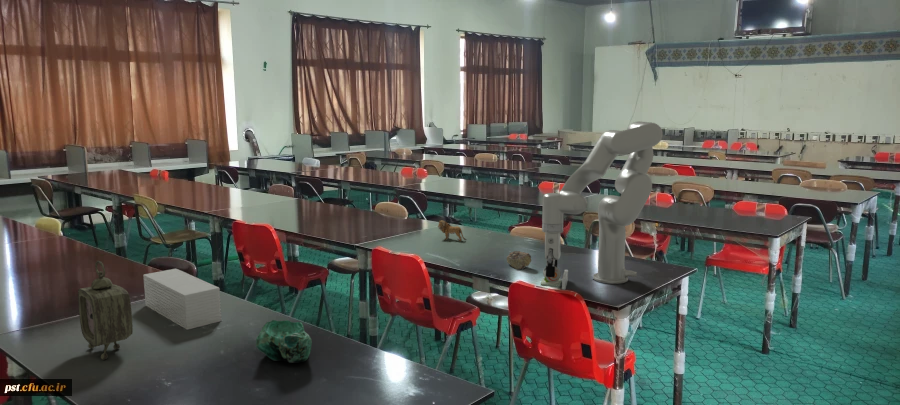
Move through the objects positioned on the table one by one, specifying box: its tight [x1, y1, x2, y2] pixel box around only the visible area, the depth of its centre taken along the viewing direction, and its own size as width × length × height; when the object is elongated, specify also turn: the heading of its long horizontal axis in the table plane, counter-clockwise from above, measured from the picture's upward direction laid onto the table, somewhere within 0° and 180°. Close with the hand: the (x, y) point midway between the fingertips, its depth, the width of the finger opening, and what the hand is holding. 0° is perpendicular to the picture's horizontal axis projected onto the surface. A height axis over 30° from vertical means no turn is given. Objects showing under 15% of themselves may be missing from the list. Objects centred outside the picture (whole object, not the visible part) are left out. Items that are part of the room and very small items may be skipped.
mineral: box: [255, 319, 313, 364], centre depth 167 cm, size 18×16×10 cm
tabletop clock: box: [77, 260, 134, 360], centre depth 171 cm, size 14×9×25 cm, turn 45°
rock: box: [506, 250, 532, 271], centre depth 258 cm, size 7×11×10 cm
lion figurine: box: [437, 220, 467, 242], centre depth 309 cm, size 15×5×9 cm, turn 67°
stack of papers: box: [143, 268, 222, 330], centre depth 204 cm, size 32×11×11 cm, turn 45°
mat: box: [540, 277, 562, 287], centre depth 237 cm, size 7×7×1 cm
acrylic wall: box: [561, 269, 569, 291], centre depth 234 cm, size 1×12×4 cm, turn 166°
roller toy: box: [542, 266, 562, 282], centre depth 236 cm, size 4×6×6 cm
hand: (551, 273), depth 236 cm, fingers open, 9 cm apart
